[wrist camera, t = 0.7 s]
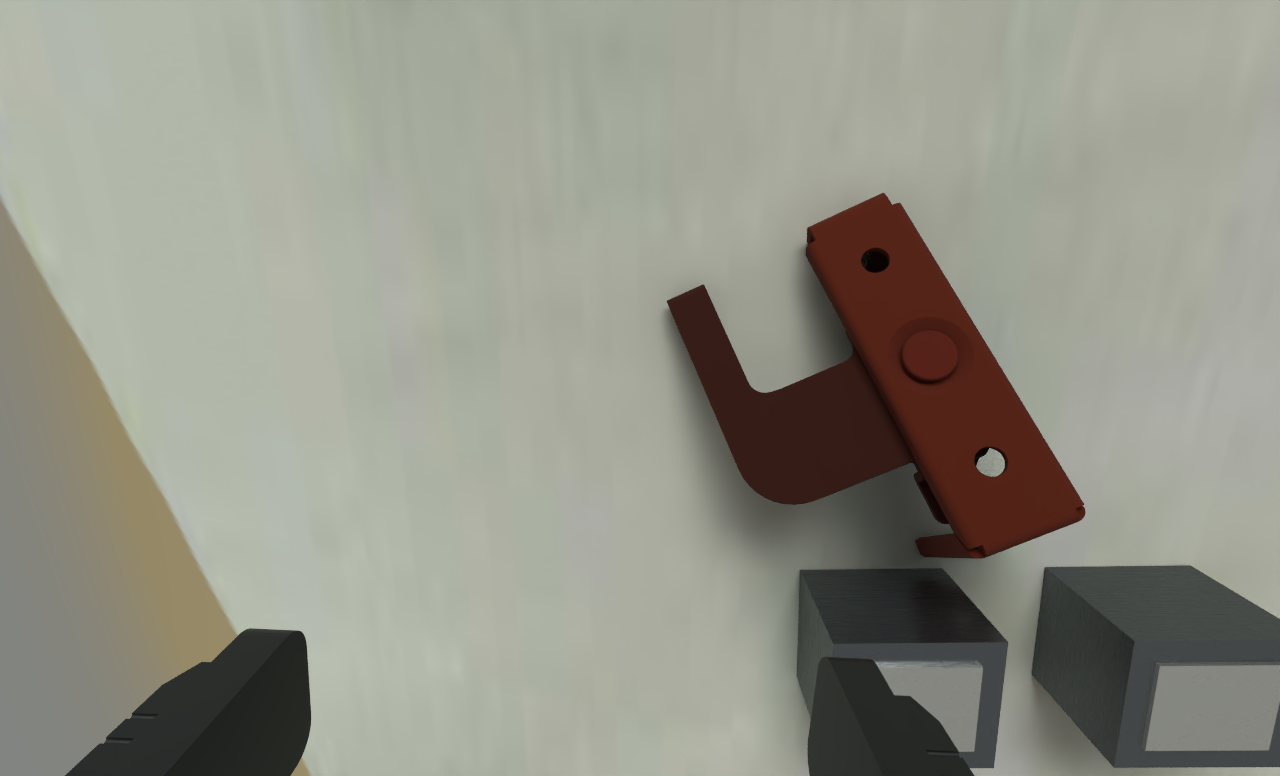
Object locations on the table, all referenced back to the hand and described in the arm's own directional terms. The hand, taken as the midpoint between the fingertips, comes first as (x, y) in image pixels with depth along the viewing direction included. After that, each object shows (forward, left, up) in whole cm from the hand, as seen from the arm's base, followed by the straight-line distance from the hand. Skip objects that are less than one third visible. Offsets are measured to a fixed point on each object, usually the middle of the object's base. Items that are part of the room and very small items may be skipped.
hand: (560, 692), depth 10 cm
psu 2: (-24, +12, -21) cm, 34 cm away
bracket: (-10, +1, -21) cm, 24 cm away
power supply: (-12, +12, -21) cm, 27 cm away
